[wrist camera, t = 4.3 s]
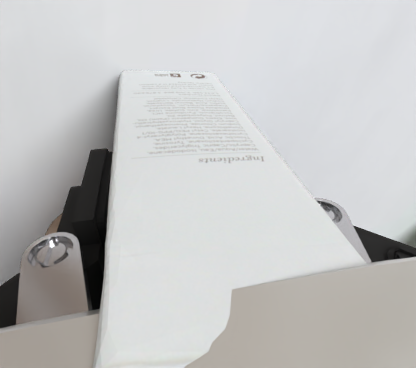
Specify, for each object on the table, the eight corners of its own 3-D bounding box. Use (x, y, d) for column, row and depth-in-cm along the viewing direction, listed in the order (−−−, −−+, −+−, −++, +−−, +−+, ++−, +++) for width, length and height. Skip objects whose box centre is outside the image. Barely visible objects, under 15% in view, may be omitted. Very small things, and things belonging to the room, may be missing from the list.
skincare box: (116, 67, 12) (37, 394, 3) (220, 69, 13) (445, 323, 4) (128, 188, 16) (113, 523, 6) (211, 183, 17) (312, 472, 7)
